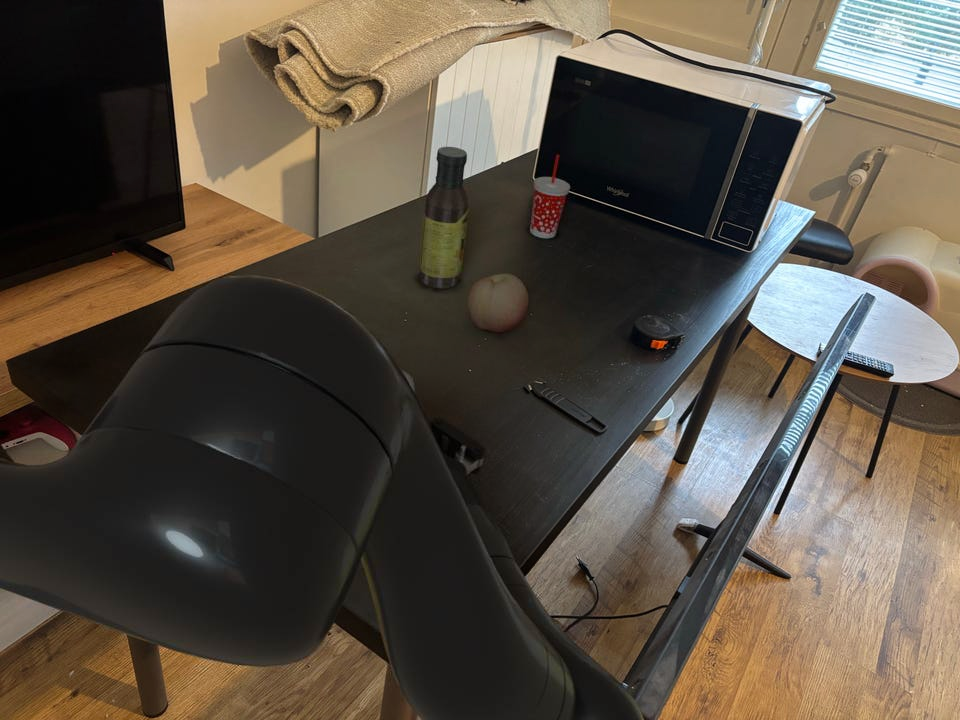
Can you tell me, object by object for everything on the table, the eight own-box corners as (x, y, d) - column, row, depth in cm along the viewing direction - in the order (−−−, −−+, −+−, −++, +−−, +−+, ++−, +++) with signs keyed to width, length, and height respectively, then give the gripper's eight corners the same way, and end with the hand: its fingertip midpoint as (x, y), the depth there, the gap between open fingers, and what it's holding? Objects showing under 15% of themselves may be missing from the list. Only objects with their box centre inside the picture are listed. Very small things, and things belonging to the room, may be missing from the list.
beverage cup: (525, 222, 131) (539, 146, 123) (559, 227, 132) (575, 151, 124) (525, 237, 126) (540, 158, 118) (560, 242, 127) (577, 164, 119)
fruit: (485, 305, 106) (492, 256, 102) (532, 327, 103) (542, 277, 99) (453, 327, 101) (460, 276, 96) (502, 351, 98) (512, 299, 93)
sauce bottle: (464, 290, 109) (482, 161, 98) (424, 292, 107) (437, 160, 96) (452, 269, 114) (468, 143, 103) (413, 270, 112) (424, 142, 101)
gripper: (538, 487, 57) (449, 361, 69) (364, 532, 51) (301, 385, 63) (521, 551, 62) (441, 422, 74) (360, 599, 56) (301, 450, 68)
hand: (376, 405), depth 69 cm, fingers closed on salt shaker, 3 cm apart
